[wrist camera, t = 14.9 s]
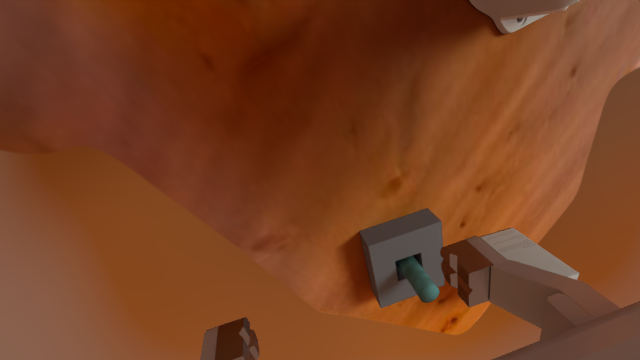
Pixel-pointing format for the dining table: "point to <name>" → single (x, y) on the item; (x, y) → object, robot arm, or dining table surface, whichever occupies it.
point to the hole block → (402, 254)
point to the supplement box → (526, 252)
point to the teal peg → (418, 279)
